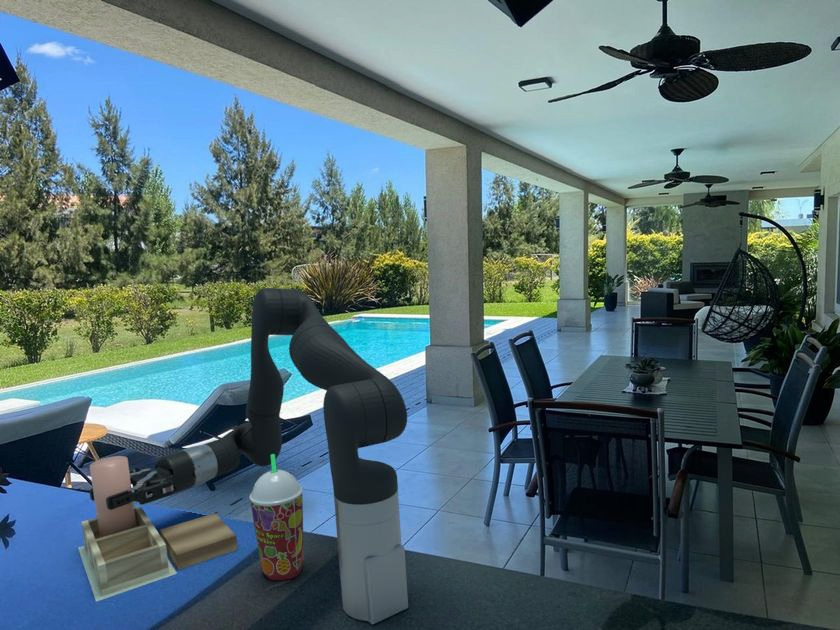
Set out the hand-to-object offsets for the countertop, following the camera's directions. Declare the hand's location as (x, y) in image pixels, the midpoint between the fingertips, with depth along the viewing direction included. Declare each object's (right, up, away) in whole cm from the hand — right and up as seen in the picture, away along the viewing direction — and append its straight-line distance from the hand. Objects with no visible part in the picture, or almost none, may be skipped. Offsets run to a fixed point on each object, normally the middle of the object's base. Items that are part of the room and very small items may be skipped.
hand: (99, 499), depth 108 cm
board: (+17, -9, +3) cm, 19 cm away
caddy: (+5, -10, -1) cm, 11 cm away
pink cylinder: (+2, -8, +3) cm, 8 cm away
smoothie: (+34, -10, -7) cm, 36 cm away
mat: (+5, -11, -1) cm, 12 cm away
